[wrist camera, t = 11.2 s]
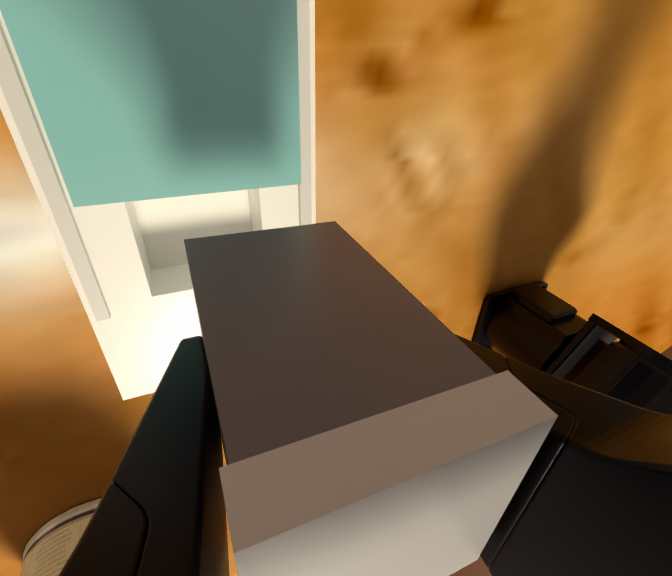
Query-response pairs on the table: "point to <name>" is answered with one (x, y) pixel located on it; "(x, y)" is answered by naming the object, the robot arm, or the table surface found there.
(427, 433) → the white rectangular block
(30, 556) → the coffee can
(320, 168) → the table surface
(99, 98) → the block
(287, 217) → the socket strip
